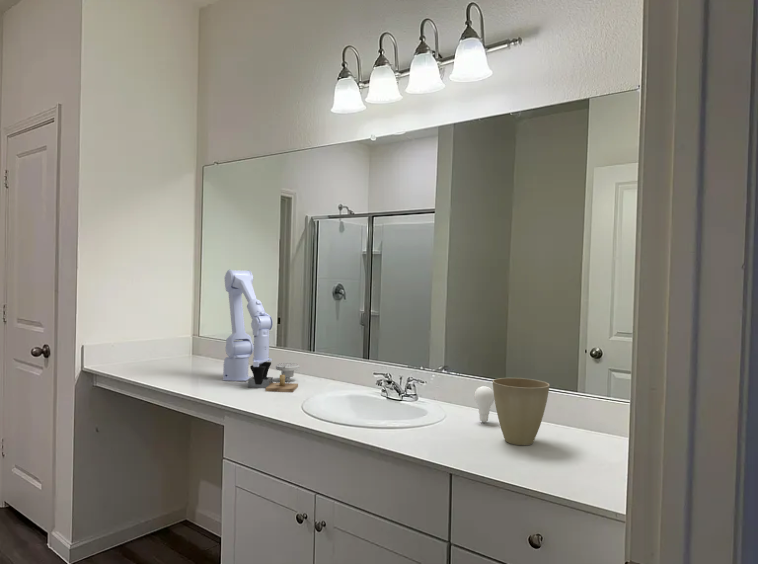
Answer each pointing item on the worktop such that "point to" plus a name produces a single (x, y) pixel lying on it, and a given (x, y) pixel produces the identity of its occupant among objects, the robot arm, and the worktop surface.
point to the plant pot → (520, 408)
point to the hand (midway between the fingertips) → (260, 382)
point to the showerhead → (287, 369)
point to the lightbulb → (484, 401)
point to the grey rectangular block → (265, 382)
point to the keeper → (282, 386)
